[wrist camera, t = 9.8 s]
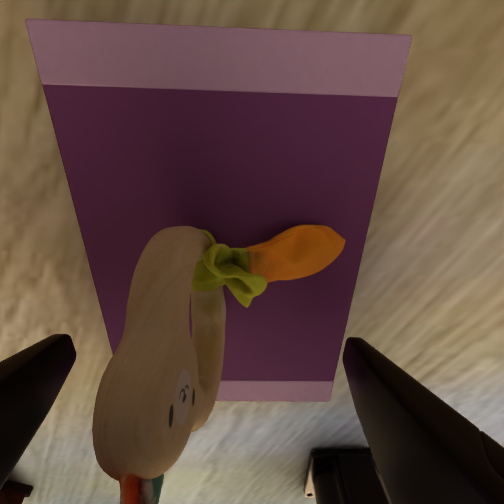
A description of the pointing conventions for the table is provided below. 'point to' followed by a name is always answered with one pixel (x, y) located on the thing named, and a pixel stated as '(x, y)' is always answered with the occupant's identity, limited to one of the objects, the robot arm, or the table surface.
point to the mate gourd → (14, 493)
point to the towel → (226, 167)
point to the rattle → (183, 343)
